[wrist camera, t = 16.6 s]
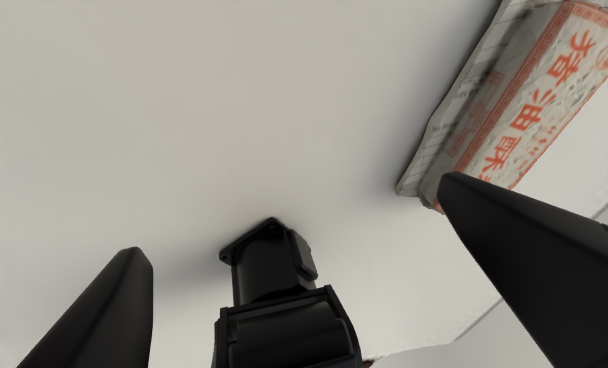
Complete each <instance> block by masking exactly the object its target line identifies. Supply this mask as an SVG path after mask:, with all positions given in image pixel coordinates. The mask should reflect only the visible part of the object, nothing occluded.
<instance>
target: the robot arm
mask: <svg viewBox="0 0 608 368" xmlns="http://www.w3.org/2000/svg"><path fill="white" fill-rule="evenodd" d="M436 198H437V201H438V203H439V204H440V206H441V208H442V209H443V211H444V213H445V215H446V216H447V218H448V220H449V221H450V223H451V225H452V227H453V228H454V230H455V232H456V233H457V235H458V237H459V238H460V240H461V241H462V243H463V244H464V246H465V247H466V248H467V250H468V251H469V252H470V254H471V255H472V256H473V258H474V259H475V261H476V262H477V263H478V265H479V266H480V267H481V269H482V270H483V271H484V273H485V274H486V276H487V277H488V278H489V280H490V281H491V282H492V284H493V285H494V287H495V288H496V289H497V291H498V292H499V293H500V295H501V296H502V297H503V299H504V300H505V302H506V303H507V304H508V306H509V307H510V308H511V310H512V311H513V312H514V314H515V315H516V317H517V318H518V319H519V321H520V322H521V323H522V325H523V326H524V327H525V329H526V330H527V331H528V333H529V334H530V336H531V337H532V338H533V340H534V341H535V342H536V344H537V345H538V347H539V348H540V349H541V351H542V352H543V353H544V355H545V356H546V357H547V359H548V360H549V361H550V363H551V364H552V365H553V367H554V368H608V225H606V224H600V223H599V222H597V221H595V220H592V219H589V218H586V217H583V216H581V215H578V214H575V213H572V212H569V211H567V210H564V209H561V208H558V207H556V206H553V205H550V204H547V203H544V202H542V201H539V200H536V199H533V198H531V197H528V196H525V195H522V194H519V193H517V192H514V191H511V190H508V189H506V188H503V187H500V186H497V185H494V184H492V183H489V182H486V181H483V180H480V179H478V178H475V177H472V176H469V175H467V174H464V173H461V172H458V171H451V172H447V173H444V174H442V175H441V177H440V181H439V184H438V187H437V191H436ZM272 223H274V224H272ZM310 252H311V250H310V247H309V246H308V244H307V242H306V241H305V240H304V239H303V238H302V237H301V236H300V235H299V234H297V233H296V232H295V231H294V230H292V229H288V228H287V227H286V226H285V225H284V224H283V223H281V222H280V221H279V220H278V219H276V218H270V219H269V220H267V221H266V222H264V223H263V224H261V225H260V226H258V227H257V228H255V229H254V230H252V231H251V232H249V233H248V234H246V235H245V236H243V237H242V238H240V239H239V240H237V241H236V242H234V243H233V244H231V245H230V246H228V247H227V248H225V249H224V250H222V251H221V252H220V253H219V259H220V260H221V261H223V262H224V263H226V264H228V265H229V266H231V272H232V287H233V302H234V307H229V308H228V307H224V308H220V318H219V319H218V321H216V322H215V323H214V327H215V343H214V352H213V359H212V365H211V368H362V355H361V350H360V346H359V342H358V338H357V335H356V332H355V330H354V327H353V325H352V323H351V321H350V319H349V317H348V315H347V314H346V312H345V310H344V308H343V306H342V304H341V303H340V301H339V299H338V297H337V295H336V293H335V292H334V290H333V288H332V286H331V284H329V285H325V286H324V287H321V288H316V285H315V282H314V280H316V279H317V278H318V273H317V270H316V268H315V265H314V262H313V259H312V256H311V253H310ZM152 329H153V267H152V265H151V263H150V262H149V260H148V259H147V257H146V256H145V254H144V253H143V252H142V250H141V249H140V248H139V247H131V248H127V249H123V250H121V251H119V252H118V253H117V254H116V255H115V256H114V258H113V259H112V260H111V261H110V262H109V263H108V264H107V265H106V267H105V268H104V269H103V270H102V271H101V272H100V273H99V275H98V276H97V277H96V278H95V279H94V280H93V281H92V282H91V284H90V285H89V286H88V287H87V288H86V289H85V290H84V292H83V293H82V294H81V295H80V296H79V297H78V298H77V299H76V301H75V302H74V303H73V304H72V305H71V306H70V307H69V308H68V310H67V311H66V312H65V313H64V314H63V315H62V316H61V318H60V319H59V320H58V321H57V322H56V323H55V324H54V325H53V327H52V328H51V329H50V330H49V331H48V332H47V333H46V335H45V336H44V337H43V338H42V339H41V340H40V341H39V342H38V344H37V345H36V346H35V347H34V348H33V349H32V350H31V351H30V353H29V354H28V355H27V356H26V357H25V358H24V359H23V361H22V362H21V363H20V364H19V365H18V366H17V367H16V368H148V362H149V354H150V346H151V338H152Z"/></svg>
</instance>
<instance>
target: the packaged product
mask: <svg viewBox="0 0 608 368" xmlns="http://www.w3.org/2000/svg"><path fill="white" fill-rule="evenodd" d="M607 78H608V0H503V1H502V3H501V5H500V7H499V9H498V11H497V13H496V15H495V17H494V19H493V21H492V23H491V25H490V27H489V28H488V30H487V31H486V33H485V34H484V35H483V37H482V38H481V40H480V41H479V43H478V44H477V46H476V48H475V49H474V51H473V53H472V54H471V56H470V58H469V59H468V61H467V63H466V64H465V66H464V68H463V69H462V71H461V73H460V74H459V76H458V78H457V79H456V81H455V83H454V84H453V86H452V88H451V89H450V91H449V93H448V94H447V96H446V97H445V98H444V100H443V101H442V103H441V104H440V105H439V107H438V108H437V110H436V111H435V112H434V114H433V115H432V117H431V118H430V120H429V123H428V126H427V128H426V131H425V134H424V137H423V140H422V143H421V145H420V146H419V148H418V150H417V152H416V154H415V156H414V158H413V160H412V162H411V164H410V165H409V167H408V168H407V170H406V172H405V173H404V175H403V177H402V178H401V180H400V182H399V183H398V185H397V187H396V188H395V194H396V195H398V196H409V197H417V196H418V197H419V198H420V201H421V203H422V204H423V206H424V207H426V208H428V209H433V210H435V211H437V212H439V213H441V214H442V215H445V213H444V211H443V209H442V208H441V206H440V204H439V203H438V201H437V198H436V191H437V187H438V184H439V181H440V177H441V175H442V174H444V173H447V172H451V171H458V172H461V173H464V174H467V175H469V176H472V177H475V178H478V179H480V180H483V181H486V182H489V183H492V184H494V185H497V186H500V187H503V188H506V189H508V190H511V189H512V188H513V187H515V185H516V184H517V183H518V182H519V181H520V180H521V178H522V177H523V176H524V175H525V174H526V173H527V172H528V171H529V169H530V168H531V167H532V166H533V165H534V163H535V162H536V161H537V159H538V158H539V157H540V156H541V155H542V154H543V153H544V152H545V151H546V149H547V148H548V147H549V146H550V145H551V144H552V142H553V141H554V140H555V139H556V138H557V137H558V135H559V134H560V133H561V131H562V130H563V129H564V128H565V127H566V125H567V124H568V123H569V122H570V121H571V120H572V119H573V117H574V116H575V115H576V114H577V113H578V112H579V111H580V110H581V108H582V106H583V105H584V104H585V103H586V102H587V101H588V100H589V99H590V98H591V97H592V95H593V94H594V93H595V91H596V90H597V89H598V87H599V86H601V85H602V84H603V83H604V82H605V80H606V79H607Z"/></svg>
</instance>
